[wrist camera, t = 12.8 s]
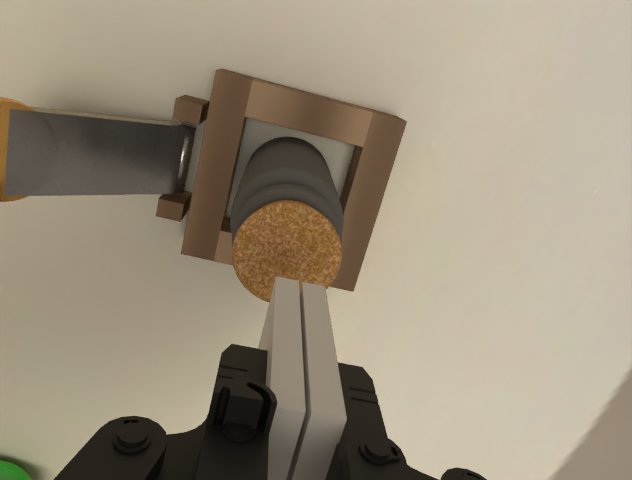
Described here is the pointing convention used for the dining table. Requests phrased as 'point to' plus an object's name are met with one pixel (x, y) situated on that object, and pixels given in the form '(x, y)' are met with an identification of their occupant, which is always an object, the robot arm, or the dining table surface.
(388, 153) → the socket block
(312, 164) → the bottle
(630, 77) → the dining table surface
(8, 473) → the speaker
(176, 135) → the bar
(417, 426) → the dining table surface
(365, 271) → the dining table surface
